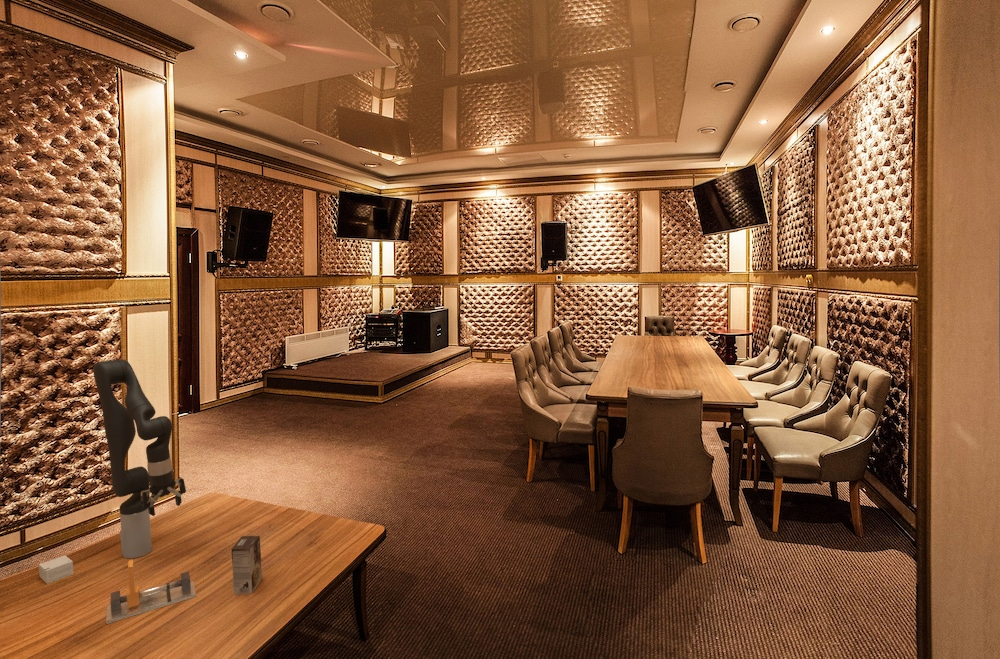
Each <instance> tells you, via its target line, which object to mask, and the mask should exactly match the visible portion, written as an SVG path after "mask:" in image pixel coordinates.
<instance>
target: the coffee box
mask: <svg viewBox="0 0 1000 659" xmlns="http://www.w3.org/2000/svg"><path fill="white" fill-rule="evenodd" d="M260 536H261V535H243V536H240V538H239V539H238V540H237V542H236V543H235V544H234V546H233V547H232V548H231V564H232V566H231V567H232V580H233V582H232V583H233V586H232V587H233V595H248V594H249V595H251V594H253V593H254V592H255V590H256V589H257V587H258V586H259V584H260V582H261V581H262V579H263V573H262V572H263V571H262V555H261V554H262V553H261V537H260Z"/></svg>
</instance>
